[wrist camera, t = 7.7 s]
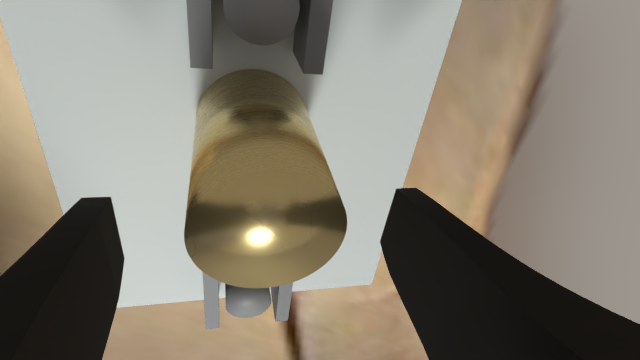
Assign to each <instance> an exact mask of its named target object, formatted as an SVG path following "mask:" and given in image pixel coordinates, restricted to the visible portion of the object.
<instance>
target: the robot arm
mask: <svg viewBox="0 0 640 360" xmlns="http://www.w3.org/2000/svg"><path fill="white" fill-rule="evenodd" d="M380 244H381V247H382V251H383V254H384V258H385V261H386V264H387V267H388V270H389V273H390V275H391V278H392V280H393V282H394V284H395V287H396V289H397V291H398V293H399V295H400V297H401V300H402V302H403V304H404V306H405V308H406V310H407V312H408V314H409V317H410V319H411V321H412V323H413V325H414V327H415V329H416V331H417V334H418V336H419V338H420V340H421V342H422V344H423V346H424V349H425V351H426V354H427V356H428V358H429V360H640V324H638V323H635V322H633V321H631V320H629V319H627V318H625V317H623V316H620V315H618V314H616V313H614V312H611V311H610V310H608V309H605V308H603V307H602V306H600V305H598V304H595V303H594V302H592V301H590V300H588V299H586V298H583V297H581V296H579V295H578V294H576V293H574V292H572V291H570V290H568V289H566V288H564V287H562V286H561V285H559V284H557V283H556V282H554V281H552V280H550V279H549V278H547V277H545V276H543V275H542V274H540V273H538V272H537V271H535V270H533V269H531V268H530V267H528V266H527V265H525V264H523V263H522V262H520V261H519V260H517V259H516V258H514V257H513V256H511V255H510V254H508V253H507V252H505V251H504V250H502V249H501V248H499V247H498V246H496V245H495V244H493V243H492V242H490V241H489V240H487V239H486V238H485V237H483V236H482V235H480V234H479V233H478V232H476V231H475V230H473V229H472V228H471V227H469V226H468V225H467V224H465V223H464V222H463V221H461V220H460V219H459V218H457V217H456V216H455V215H453V214H452V213H450V212H449V211H448V210H446V209H445V208H444V207H442V206H441V205H440V204H438V203H437V202H436V201H434V200H433V199H432V198H430V197H429V196H427V195H426V194H424V193H423V192H421V191H420V190H418V189H417V188H398V189H396V191H395V194H394V197H393V200H392V204H391V207H390V210H389V214H388V217H387V220H386V223H385V227H384V230H383V233H382V236H381V240H380ZM124 259H125V258H124V254H123V249H122V245H121V240H120V236H119V231H118V227H117V222H116V218H115V213H114V209H113V204H112V200H111V197H87V198H81V199H79V200H78V201H77V202H76V203H75V204H74V205H73V206H72V207H71V208H70V209H69V210H68V211H67V212H66V213H65V214H64V215H63V216H62V217H61V218H60V219H59V220H58V221H57V222H56V223H55V224H54V225H53V226H52V227H51V228H50V229H49V230H48V231H47V232H46V233H45V234H44V235H43V236H42V237H41V238H40V239H39V240H38V241H37V242H36V243H35V244H34V245H33V246H32V247H31V248H30V249H29V250H28V251H27V252H26V253H25V254H24V255H23V256H22V257H20V258H19V259H18V260H17V261H16V262H15V263H14V264H13V265H12V266H11V267H10V268H9V269H8V270H7V271H6V272H5V273H3V274H2V275H1V276H0V360H102V357H103V354H104V350H105V347H106V343H107V340H108V336H109V333H110V329H111V325H112V322H113V318H114V314H115V311H116V307H117V303H118V300H119V294H120V288H121V281H122V274H123V266H124Z"/></svg>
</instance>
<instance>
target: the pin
mask: <svg viewBox="0 0 640 360" xmlns="http://www.w3.org/2000/svg"><path fill="white" fill-rule="evenodd" d="M346 230H347V215H346V210H345V207H344V205H343V202H342V200H341V197H340V194H339V192H338V189H337V187H336V184H335V181H334V179H333V176H332V174H331V171H330V169H329V166H328V163H327V161H326V158H325V156H324V153H323V151H322V148H321V145H320V143H319V140H318V138H317V135H316V133H315V130H314V127H313V125H312V122H311V120H310V117H309V114H308V112H307V109H306V107H305V104H304V102H303V99H302V97H301V95H300V94H299V92H298V91H297V90H296V88H295V87H294V86H293V85H292V84H291V83H290V82H289V81H287V80H286V79H284V78H283V77H281V76H279V75H277V74H275V73H272V72H269V71H265V70H260V69H244V70H238V71H234V72H231V73H229V74H226V75H224V76H222V77H221V78H219V79H217V80H216V81H215V82H214V83H212V84H211V85H210V86H209V87H208V88H207V90H206V91H205V92H204V94H203V95H202V97H201V99H200V102H199V105H198V108H197V114H196V123H195V133H194V142H193V152H192V162H191V171H190V181H189V190H188V200H187V209H186V219H185V228H184V242H185V246H186V250H187V252H188V255H189V256H190V258H191V260H192V261H193V263H194V264H195V265H196V266H197V267H198V268H199V269H200V270H201V271H203V272H204V273H205V274H207V275H208V276H210V277H211V278H213V279H215V280H217V281H220V282H222V283H225V284H228V285H232V286H237V287H243V288H270V287H277V286H281V285H286V284H289V283H292V282H295V281H298V280H300V279H303V278H305V277H307V276H309V275H311V274H312V273H314V272H315V271H317V270H319V269H320V268H321V267H322V266H324V265H325V264H326V263H327V262H328V261H329V260H330V259H331V258H332V257H333V256H334V255H335V254H336V252H337V251H338V249H339V248H340V246H341V244H342V242H343V240H344V237H345V234H346Z"/></svg>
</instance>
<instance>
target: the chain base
mask: <svg viewBox="0 0 640 360" xmlns="http://www.w3.org/2000/svg"><path fill="white" fill-rule="evenodd" d="M461 2H462V0H0V19H1V22H2V25H3V28H4V31H5V34H6V37H7V40H8V43H9V47H10V50H11V53H12V56H13V59H14V62H15V65H16V68H17V71H18V75H19V78H20V81H21V84H22V87H23V90H24V93H25V96H26V99H27V102H28V106H29V109H30V112H31V115H32V118H33V121H34V124H35V127H36V130H37V133H38V137H39V140H40V143H41V146H42V149H43V152H44V155H45V158H46V161H47V165H48V168H49V171H50V174H51V177H52V180H53V183H54V186H55V189H56V192H57V196H58V199H59V202H60V205H61V208H62V211H63V214H65V213H66V212H67V211H68V210H69V209H70V208H71V207H72V206H73V205H74V204H75V203H76V202H77V201H78V200H79V199H81V198H87V197H111V200H112V204H113V209H114V213H115V218H116V222H117V227H118V231H119V236H120V240H121V245H122V249H123V254H124V258H125V259H124V266H123V274H122V281H121V288H120V294H119V300H118V303H117V307H116V308H119V307H130V306H140V305H151V304H162V303H173V302H184V301H195V300H204V307H205V324H206V329H213V328H219V298H226V309H227V311H228V312H229V313H230V314H231V315H233V316H236V317H240V318H249V317H254V316H257V315H259V314H262V313H263V312H265V311H266V310H267V309H268V308H269V306H270V304H271V296H270V294H272V301H273V308H274V315H275V322H276V321H285V320H288V315H289V308H290V301H291V294H292V292H293V291H303V290H314V289H325V288H336V287H347V286H358V285H369V284H372V281H373V278H374V275H375V271H376V268H377V265H378V262H379V259H380V256H381V253H382V247H381V244H380V240H381V236H382V233H383V230H384V227H385V223H386V220H387V217H388V214H389V210H390V207H391V204H392V200H393V197H394V194H395V191H396V189H398V188H402V187H403V184H404V180H405V177H406V174H407V171H408V168H409V165H410V162H411V158H412V155H413V152H414V149H415V146H416V143H417V140H418V136H419V133H420V130H421V127H422V124H423V121H424V118H425V115H426V111H427V108H428V105H429V102H430V99H431V96H432V93H433V89H434V86H435V83H436V80H437V77H438V74H439V71H440V67H441V64H442V61H443V58H444V55H445V52H446V49H447V46H448V42H449V39H450V36H451V33H452V30H453V27H454V24H455V20H456V17H457V14H458V11H459V8H460V5H461ZM244 69H260V70H265V71H269V72H272V73H275V74H277V75H279V76H281V77H283V78H284V79H286V80H287V81H289V82H290V83H291V84H292V85H293V86H294V87H295V88H296V90H297V91H298V92H299V94H300V95H301V97H302V99H303V102H304V104H305V107H306V109H307V112H308V114H309V117H310V120H311V122H312V125H313V127H314V130H315V133H316V135H317V138H318V140H319V143H320V145H321V148H322V151H323V153H324V156H325V158H326V161H327V163H328V166H329V169H330V171H331V174H332V176H333V179H334V181H335V184H336V187H337V189H338V192H339V194H340V197H341V200H342V202H343V205H344V207H345V210H346V215H347V230H346V234H345V237H344V240H343V242H342V244H341V246H340V248H339V249H338V251H337V252H336V254H335V255H334V256H333V257H332V258H331V259H330V260H329V261H328V262H327V263H326V264H325V265H324V266H322V267H321V268H320V269H319V270H317V271H315V272H314V273H312V274H311V275H309V276H307V277H305V278H303V279H300V280H298V281H295V282H292V283H289V284H286V285H281V286H277V287H270V288H243V287H237V286H232V285H228V284H225V283H222V282H220V281H217V280H215V279H213V278H211V277H210V276H208V275H207V274H205V273H204V272H203V271H201V270H200V269H199V268H198V267H197V266H196V265H195V264H194V263H193V261H192V260H191V258H190V256H189V255H188V252H187V250H186V246H185V242H184V228H185V219H186V209H187V200H188V190H189V181H190V171H191V162H192V152H193V142H194V133H195V123H196V114H197V108H198V105H199V102H200V99H201V97H202V95H203V94H204V92H205V91H206V90H207V88H208V87H209V86H210V85H211V84H212V83H214V82H215V81H216V80H217V79H219V78H221V77H222V76H224V75H226V74H229V73H231V72H234V71H238V70H244Z"/></svg>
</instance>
